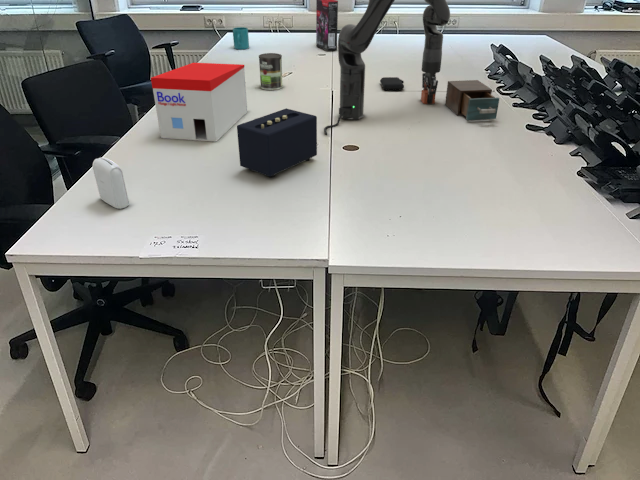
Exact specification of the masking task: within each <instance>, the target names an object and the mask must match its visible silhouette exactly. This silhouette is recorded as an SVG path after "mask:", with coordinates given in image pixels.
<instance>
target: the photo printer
mask: <svg viewBox="0 0 640 480" xmlns="http://www.w3.org/2000/svg"><path fill="white" fill-rule="evenodd" d="M92 170H93V174H94V179H95V182H96V186H97V191H98V194H99V197H100V199H101V200H102V201H103V202H104V203H106V204H108V205H110V206H111V207H113V208H115V209H119V210H120V209H124V208H127V207H128V206H129V205H130V200H129V195H128V191H127V186H126V182H125V178H124V173H123V170H122V168H121V167H120V165H119V164H118V163H116V162H114V161H113V160H111V159H110V158H108V157H98V158H95V159H94V160H93V162H92Z"/></svg>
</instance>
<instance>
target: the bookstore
mask: <svg viewBox="0 0 640 480" xmlns="http://www.w3.org/2000/svg"><path fill="white" fill-rule="evenodd" d="M150 83H151V88H152V93H153V99H154V104H155V109H156V118H157V122H158V128H159V135H160V139H172V140H187V141H200V142H201V141H202V142H215V143H216V142H218V140H220V139H221V138H222V137H223V136H224V135H225V134H226V133H227V132H228V131H229V130H230V129H231V128H232V127H234V125H236V124H237V122H239V121H240V119H242V118H243V116H245V115H246V114H247V113H248V101H247V100H248V99H247V86H246V73H245V64H237V63H236V64H235V63H214V62H213V63H212V62H191V63H188V64H185V65H183V66H180V67H177V68H174V69H171V70H168V71H166V72H163V73H160V74H157V75H154V76H151V77H150Z"/></svg>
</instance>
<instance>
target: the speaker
mask: <svg viewBox="0 0 640 480" xmlns="http://www.w3.org/2000/svg"><path fill="white" fill-rule="evenodd" d="M236 133H237V134H236V135H237V143H238V144H237V145H238V155H239V156H238V157H239V166H240V167H242V168H245V169H248V171H252V172H256V173H258V174H262V175H264V176H266V177H268V178H274V177H275V175H277V174H279V173H281V172H284V171H286V170H288V169H290V168H292V167H294V166H296V165H299V164H301V163H303V162H309V161H310V160H311V159H312V158H314V157H316V156H317V155H318V117H317V116H316V115H314V114H310V113H306V112H302V111H298V110H295V109H291V108H283V109H281V110H278V111H275V112H272V113H268V114H265V115H262V116H260V117H257V118H254V119H251V120H249V121H246V122H243V123H240V124H237V125H236Z"/></svg>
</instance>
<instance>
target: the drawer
mask: <svg viewBox="0 0 640 480" xmlns="http://www.w3.org/2000/svg"><path fill="white" fill-rule="evenodd" d="M499 104H500V97H496V96H494V95H493V94H492V93H491V94H490V93H488V92H469V93H462V98H461V105H460V112H461V113H462V114H463V115H462V116H465V119H466V121H476V120H477V121H481V120H497V117H498V116H497V115H498V109H499Z"/></svg>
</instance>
